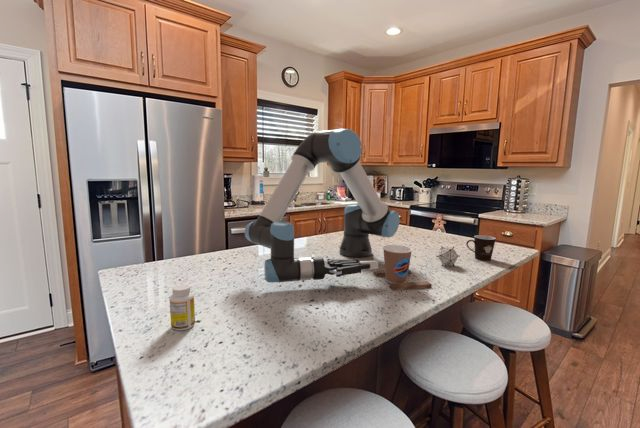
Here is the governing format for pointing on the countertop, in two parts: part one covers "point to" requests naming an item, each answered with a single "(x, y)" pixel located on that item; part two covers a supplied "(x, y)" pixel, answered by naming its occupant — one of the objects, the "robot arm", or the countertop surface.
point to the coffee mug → (483, 247)
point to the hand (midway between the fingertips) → (377, 264)
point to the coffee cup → (396, 263)
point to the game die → (448, 256)
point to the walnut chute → (404, 285)
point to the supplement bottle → (182, 308)
